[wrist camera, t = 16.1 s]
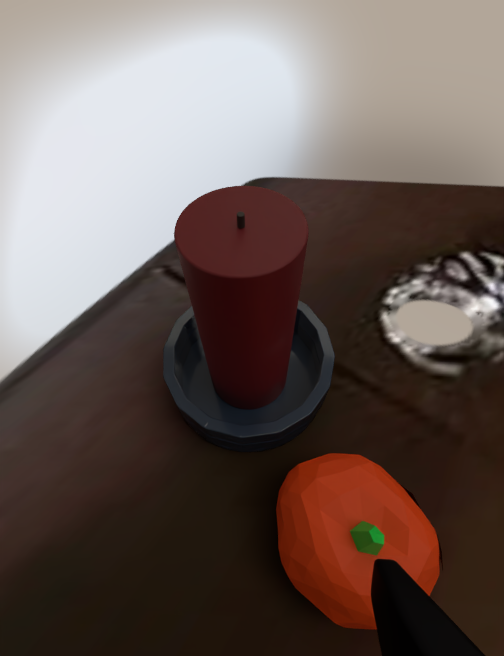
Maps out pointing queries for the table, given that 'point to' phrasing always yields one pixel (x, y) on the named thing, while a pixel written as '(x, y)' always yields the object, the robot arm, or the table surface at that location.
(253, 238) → the candle
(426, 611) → the robot arm
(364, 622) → the pumpkin
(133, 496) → the table surface
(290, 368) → the blue round dish
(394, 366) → the table surface
